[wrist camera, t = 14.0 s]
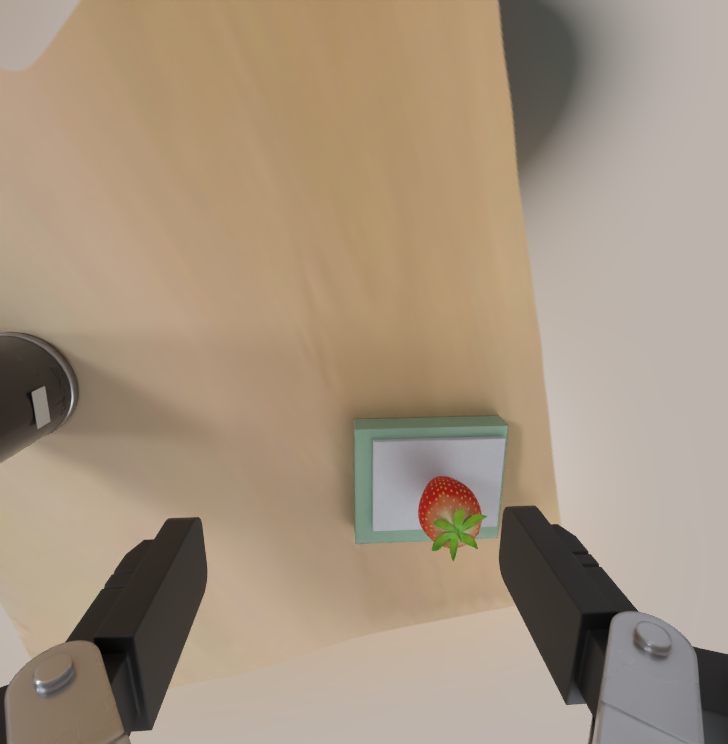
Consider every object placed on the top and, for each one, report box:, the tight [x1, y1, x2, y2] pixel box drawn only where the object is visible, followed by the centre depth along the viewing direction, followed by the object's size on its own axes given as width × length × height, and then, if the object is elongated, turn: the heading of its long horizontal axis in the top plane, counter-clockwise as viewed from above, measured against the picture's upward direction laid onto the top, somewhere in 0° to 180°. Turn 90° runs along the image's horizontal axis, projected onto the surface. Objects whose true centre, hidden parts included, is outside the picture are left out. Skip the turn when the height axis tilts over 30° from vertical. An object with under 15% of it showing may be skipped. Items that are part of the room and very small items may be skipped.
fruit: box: [418, 476, 487, 561], centre depth 36 cm, size 5×5×8 cm
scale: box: [354, 416, 508, 544], centre depth 41 cm, size 14×12×3 cm
